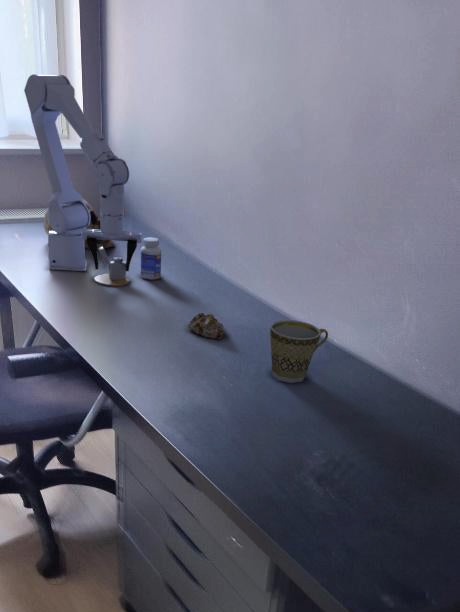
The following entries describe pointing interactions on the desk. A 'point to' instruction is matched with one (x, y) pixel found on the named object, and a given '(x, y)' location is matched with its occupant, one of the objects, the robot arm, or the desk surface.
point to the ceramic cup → (293, 348)
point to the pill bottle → (151, 259)
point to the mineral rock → (207, 326)
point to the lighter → (114, 266)
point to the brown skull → (93, 225)
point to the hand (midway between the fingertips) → (112, 269)
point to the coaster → (106, 281)
